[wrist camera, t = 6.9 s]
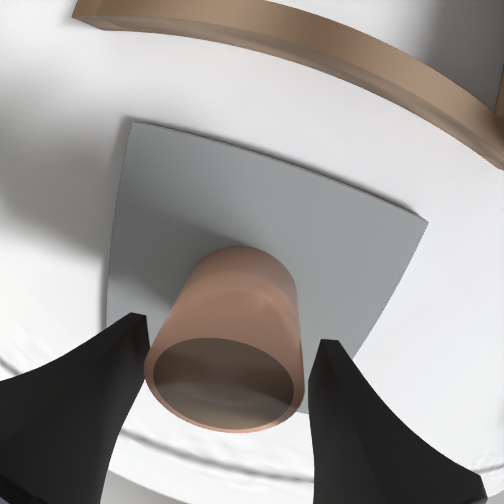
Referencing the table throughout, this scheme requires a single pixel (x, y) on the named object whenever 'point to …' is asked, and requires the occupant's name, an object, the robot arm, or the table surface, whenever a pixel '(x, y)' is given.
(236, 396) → the clay pot
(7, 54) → the table surface
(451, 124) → the frame
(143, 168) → the potting mat
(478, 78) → the table surface
